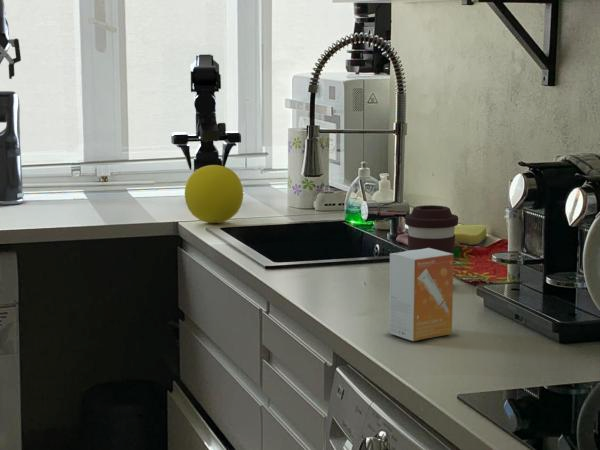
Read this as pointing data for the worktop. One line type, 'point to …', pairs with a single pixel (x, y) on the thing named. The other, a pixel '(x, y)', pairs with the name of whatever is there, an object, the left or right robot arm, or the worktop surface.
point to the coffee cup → (431, 228)
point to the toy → (213, 193)
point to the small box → (421, 294)
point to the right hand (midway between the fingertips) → (206, 169)
